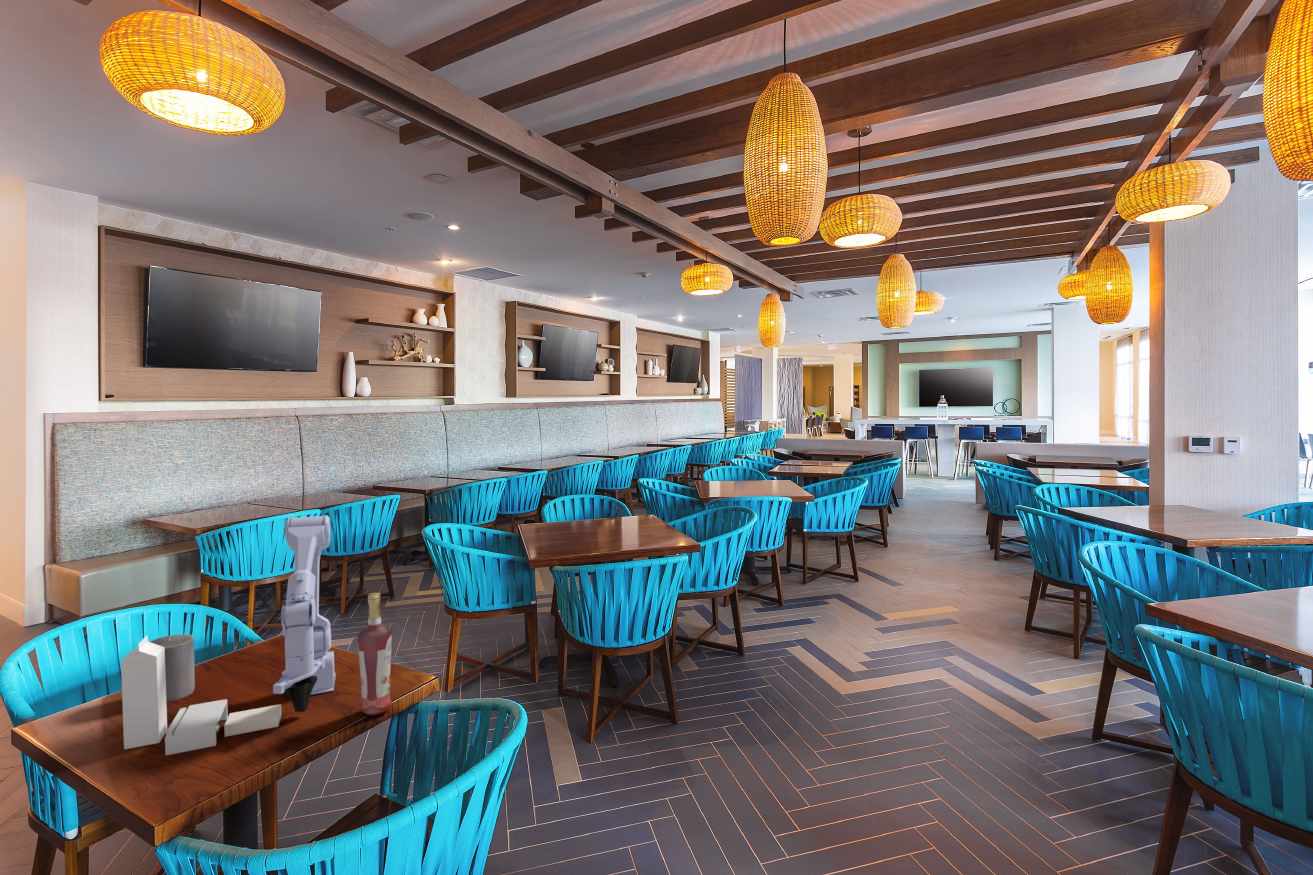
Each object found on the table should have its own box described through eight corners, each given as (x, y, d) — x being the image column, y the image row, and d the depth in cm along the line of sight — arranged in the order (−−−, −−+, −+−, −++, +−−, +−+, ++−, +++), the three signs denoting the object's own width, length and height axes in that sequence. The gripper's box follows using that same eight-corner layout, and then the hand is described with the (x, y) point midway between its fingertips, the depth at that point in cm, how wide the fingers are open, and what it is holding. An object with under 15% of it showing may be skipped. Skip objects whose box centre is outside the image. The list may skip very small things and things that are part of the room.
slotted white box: (227, 717, 141) (227, 698, 141) (215, 745, 129) (215, 724, 129) (182, 726, 137) (181, 706, 137) (165, 755, 125) (164, 733, 125)
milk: (167, 730, 135) (165, 632, 135) (159, 743, 130) (157, 641, 129) (132, 736, 133) (130, 636, 132) (122, 750, 127) (120, 646, 127)
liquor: (387, 717, 141) (385, 598, 140) (354, 719, 140) (352, 599, 139) (396, 702, 148) (394, 589, 147) (365, 704, 147) (362, 590, 146)
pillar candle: (135, 701, 149) (133, 641, 148) (175, 683, 158) (174, 627, 158) (166, 706, 147) (165, 645, 146) (205, 688, 156) (203, 630, 155)
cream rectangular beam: (281, 714, 142) (281, 703, 142) (278, 726, 137) (278, 715, 137) (230, 724, 138) (229, 713, 138) (224, 736, 133) (224, 725, 132)
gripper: (305, 640, 149) (306, 694, 149) (259, 664, 134) (261, 724, 135) (332, 641, 148) (333, 696, 148) (289, 666, 133) (290, 726, 134)
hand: (301, 710), depth 141 cm, fingers closed
